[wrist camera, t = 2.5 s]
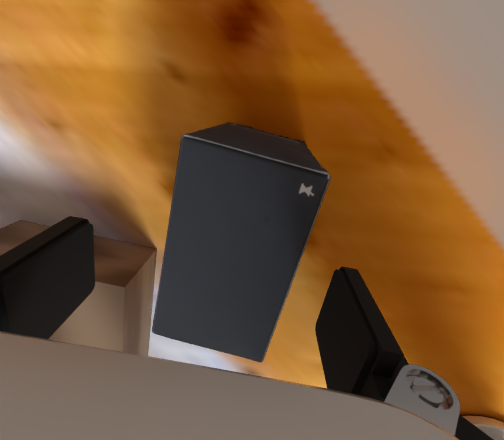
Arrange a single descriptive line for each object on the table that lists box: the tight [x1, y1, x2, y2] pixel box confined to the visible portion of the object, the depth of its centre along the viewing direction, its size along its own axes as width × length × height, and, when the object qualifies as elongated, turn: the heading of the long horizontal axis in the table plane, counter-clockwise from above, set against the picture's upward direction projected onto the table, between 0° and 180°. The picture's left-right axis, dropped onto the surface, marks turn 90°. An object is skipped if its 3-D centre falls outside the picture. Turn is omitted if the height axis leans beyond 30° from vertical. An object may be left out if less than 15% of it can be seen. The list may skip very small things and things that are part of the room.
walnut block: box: [0, 220, 157, 356], centre depth 24 cm, size 12×14×6 cm
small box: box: [152, 123, 330, 362], centre depth 17 cm, size 11×6×10 cm, turn 166°
